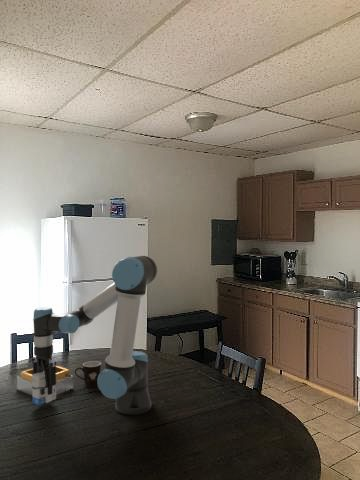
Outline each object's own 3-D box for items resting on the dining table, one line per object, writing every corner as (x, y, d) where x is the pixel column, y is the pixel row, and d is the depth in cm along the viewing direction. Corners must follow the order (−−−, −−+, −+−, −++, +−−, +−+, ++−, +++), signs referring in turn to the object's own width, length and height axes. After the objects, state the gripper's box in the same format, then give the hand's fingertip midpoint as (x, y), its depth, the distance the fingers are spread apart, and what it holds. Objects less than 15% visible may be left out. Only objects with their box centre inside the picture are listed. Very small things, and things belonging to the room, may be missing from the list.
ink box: (38, 405, 161) (38, 377, 161) (31, 402, 164) (31, 374, 164) (56, 398, 168) (56, 371, 168) (49, 396, 171) (49, 369, 171)
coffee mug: (103, 381, 195) (103, 361, 195) (97, 388, 186) (98, 367, 186) (80, 380, 196) (80, 360, 196) (73, 387, 187) (74, 366, 187)
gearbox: (73, 388, 186) (73, 370, 186) (43, 400, 173) (43, 380, 172) (41, 377, 199) (41, 360, 199) (12, 387, 186) (12, 369, 186)
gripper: (64, 346, 164) (65, 401, 164) (38, 340, 174) (38, 392, 174) (49, 350, 158) (50, 408, 158) (22, 343, 168) (23, 398, 168)
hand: (44, 400), depth 166 cm, fingers closed on ink box, 5 cm apart
